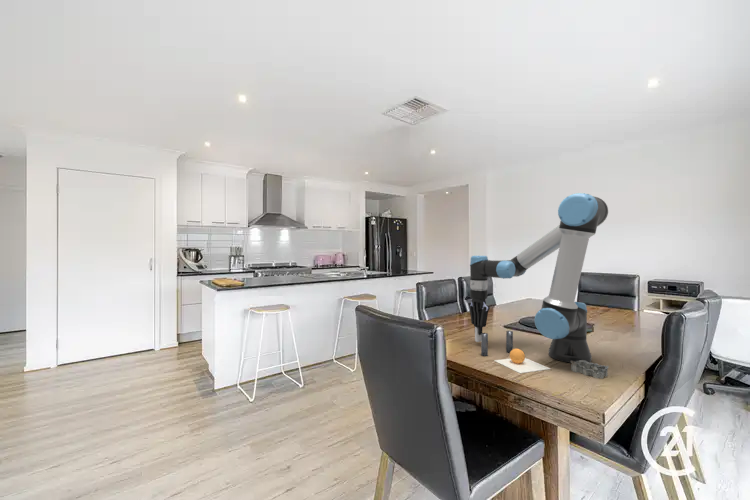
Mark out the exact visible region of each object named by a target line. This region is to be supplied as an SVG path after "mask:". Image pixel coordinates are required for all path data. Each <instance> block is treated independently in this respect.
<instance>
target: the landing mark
mask: <svg viewBox="0 0 750 500" xmlns="http://www.w3.org/2000/svg"><path fill="white" fill-rule="evenodd" d="M493 362H495V363H498V364H499V365H501V366H504V367H505V368H508V369H510V370H512V371H514V372H516V373H518V374H527V373H533V372H534V373H535V372H541V371H547V370H552V368H550V367H548V366H546V365H543V364H541V363H538V362H536V361H533V360H531V359H529V358H526V357H525V360H524V361H523V362H522V363H519V364H518V363H514V362H513V361H512V360H511V359H510V358H503V359H495V360H493Z"/></svg>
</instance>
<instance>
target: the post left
mask: <svg viewBox="0 0 750 500" xmlns="http://www.w3.org/2000/svg"><path fill="white" fill-rule="evenodd" d="M480 344H481V345H480V350H481V351H480V356H482V357H488V356H489V333H487V332H482V333H481V342H480Z"/></svg>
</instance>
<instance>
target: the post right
mask: <svg viewBox="0 0 750 500" xmlns="http://www.w3.org/2000/svg"><path fill="white" fill-rule="evenodd" d="M505 335H506V336H505V338H506V343H505V350H506V351H505V352H506V354H510V352H511V351H512V350H513V349H514V331H513V330H506V334H505Z"/></svg>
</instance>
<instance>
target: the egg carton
mask: <svg viewBox="0 0 750 500" xmlns="http://www.w3.org/2000/svg"><path fill="white" fill-rule="evenodd" d="M570 362H571V363H570V364H571V365H570V370H571V371H572V372H573V373H580V374H583V375H584V376H591V377H593V378H594V379H602V380H603V379H604V377H605V378H607V377H608V370H609V367H610V366H609V365H604V364H603V365H602V364H598V363H597V362H596V363H594V362H587V361H585V360H579V361H576V362H573V361H571V360H570Z"/></svg>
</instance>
